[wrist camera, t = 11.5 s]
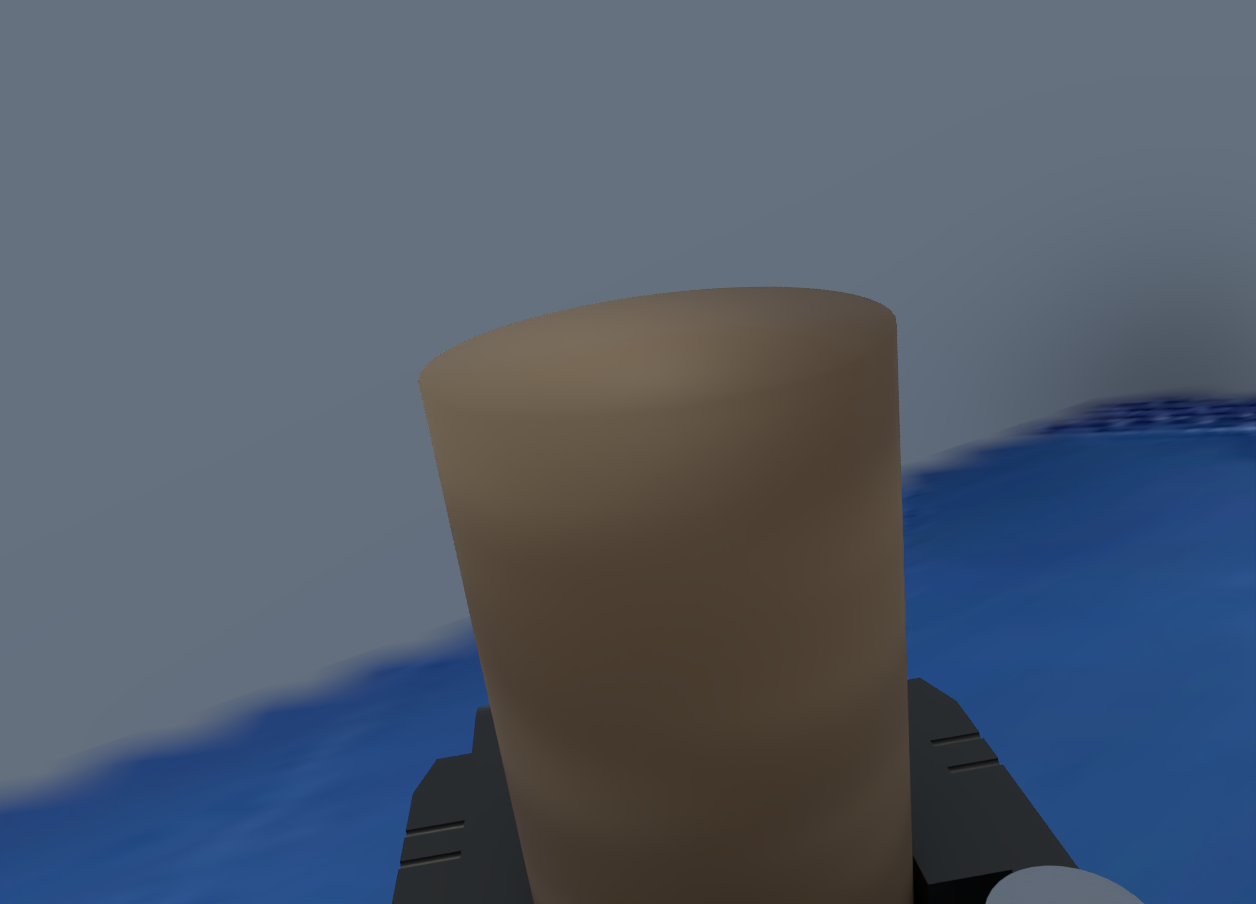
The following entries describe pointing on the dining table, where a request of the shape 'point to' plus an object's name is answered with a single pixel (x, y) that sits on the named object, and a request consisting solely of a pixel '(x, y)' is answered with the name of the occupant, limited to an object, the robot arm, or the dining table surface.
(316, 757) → the dining table surface
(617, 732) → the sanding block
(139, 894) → the dining table surface
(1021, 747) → the dining table surface
